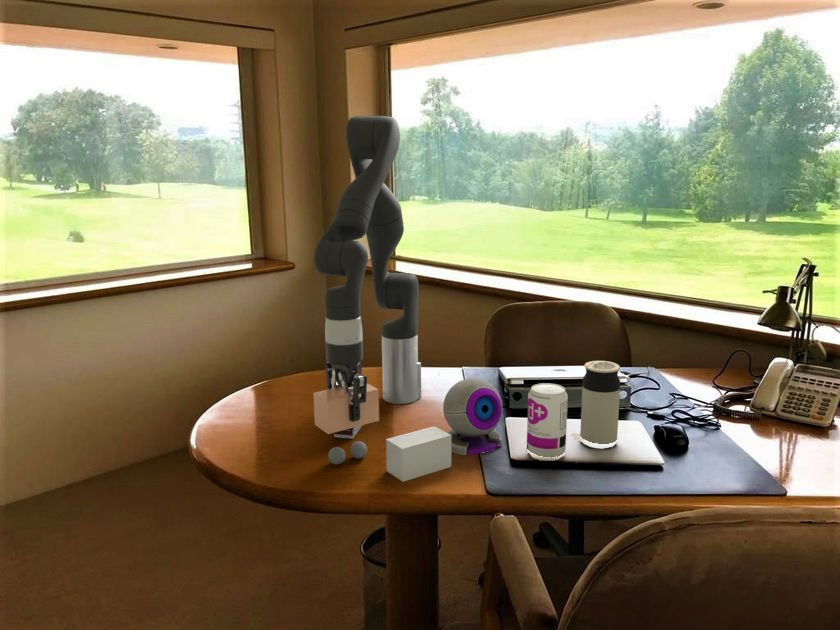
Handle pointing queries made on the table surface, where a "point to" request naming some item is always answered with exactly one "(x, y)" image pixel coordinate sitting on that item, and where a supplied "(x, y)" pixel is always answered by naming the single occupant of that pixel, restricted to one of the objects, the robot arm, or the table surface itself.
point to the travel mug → (600, 402)
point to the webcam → (473, 416)
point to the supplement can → (547, 420)
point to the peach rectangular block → (343, 409)
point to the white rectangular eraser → (418, 453)
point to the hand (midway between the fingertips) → (346, 415)
